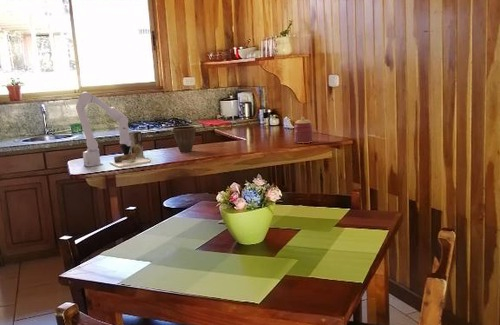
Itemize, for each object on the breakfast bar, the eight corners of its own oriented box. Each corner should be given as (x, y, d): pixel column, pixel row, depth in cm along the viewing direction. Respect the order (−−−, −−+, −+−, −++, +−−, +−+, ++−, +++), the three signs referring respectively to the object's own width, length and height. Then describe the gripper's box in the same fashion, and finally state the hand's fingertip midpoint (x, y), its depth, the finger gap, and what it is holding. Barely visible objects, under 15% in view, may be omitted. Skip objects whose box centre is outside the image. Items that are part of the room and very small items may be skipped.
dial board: (118, 167, 301) (118, 165, 300) (110, 163, 314) (109, 161, 314) (150, 162, 311) (150, 160, 311) (141, 158, 324) (140, 156, 324)
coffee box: (137, 155, 338) (135, 130, 335) (143, 155, 334) (141, 131, 331) (126, 157, 331) (123, 132, 328) (132, 158, 327) (130, 133, 324)
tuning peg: (116, 162, 309) (115, 157, 309) (113, 161, 313) (113, 156, 312) (136, 159, 316) (136, 153, 316) (134, 158, 320) (133, 153, 319)
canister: (313, 140, 359) (312, 115, 355) (313, 143, 346) (312, 117, 342) (294, 141, 360) (293, 116, 356) (294, 144, 347) (293, 118, 344)
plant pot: (201, 150, 341) (199, 126, 338) (182, 154, 332) (180, 129, 329) (188, 148, 353) (187, 125, 349) (170, 152, 343) (168, 128, 340)
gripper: (134, 134, 313) (136, 156, 316) (126, 132, 325) (128, 153, 328) (123, 136, 309) (125, 158, 312) (115, 134, 321) (117, 155, 324)
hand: (126, 156), depth 320 cm, fingers closed
